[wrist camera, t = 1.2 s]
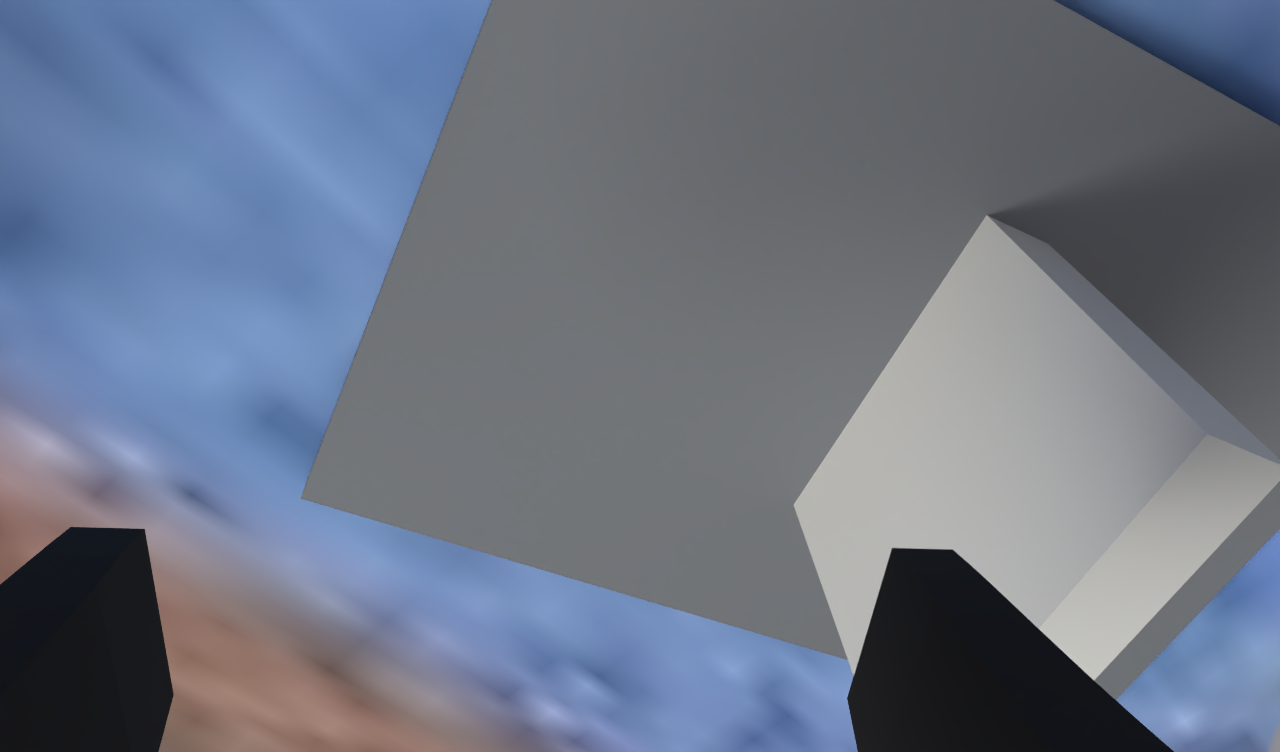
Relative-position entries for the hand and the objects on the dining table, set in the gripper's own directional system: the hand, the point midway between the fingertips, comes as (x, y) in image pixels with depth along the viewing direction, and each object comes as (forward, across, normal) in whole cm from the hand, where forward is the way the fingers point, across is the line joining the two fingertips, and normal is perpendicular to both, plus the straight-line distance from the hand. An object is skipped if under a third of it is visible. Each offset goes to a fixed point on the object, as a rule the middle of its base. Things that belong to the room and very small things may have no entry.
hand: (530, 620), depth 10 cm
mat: (+10, -8, +3) cm, 13 cm away
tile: (+9, -8, +3) cm, 12 cm away
